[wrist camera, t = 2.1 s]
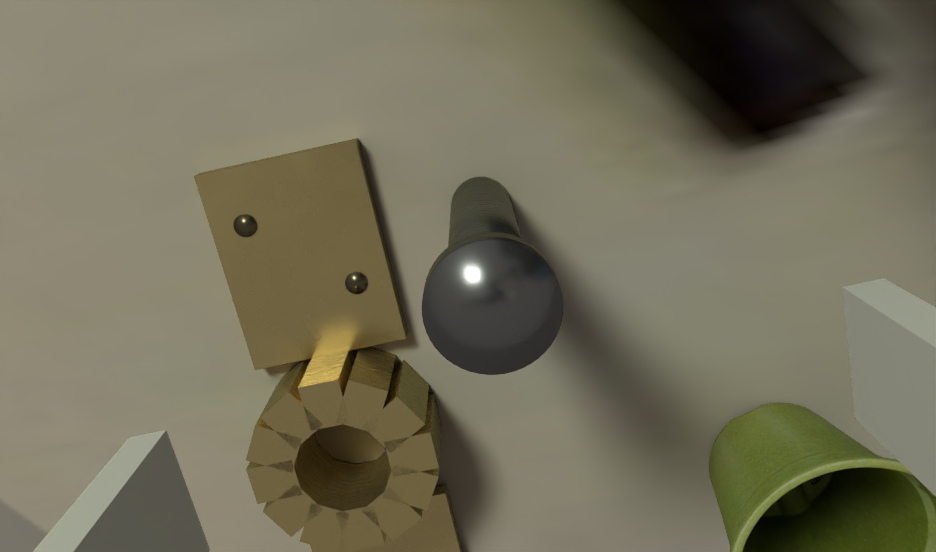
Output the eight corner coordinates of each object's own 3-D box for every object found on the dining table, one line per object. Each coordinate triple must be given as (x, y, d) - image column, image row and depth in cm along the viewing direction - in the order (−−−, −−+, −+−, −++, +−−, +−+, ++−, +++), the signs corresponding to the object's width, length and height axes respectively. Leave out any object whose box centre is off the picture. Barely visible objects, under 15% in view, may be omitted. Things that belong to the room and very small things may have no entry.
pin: (428, 173, 35) (407, 257, 21) (515, 154, 34) (549, 226, 21) (447, 256, 36) (439, 386, 22) (532, 238, 35) (574, 359, 22)
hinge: (188, 175, 35) (154, 192, 31) (369, 135, 34) (357, 147, 30) (343, 662, 42) (330, 725, 38) (493, 634, 41) (496, 695, 37)
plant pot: (648, 522, 40) (697, 651, 31) (707, 348, 37) (777, 437, 29) (827, 559, 40) (922, 694, 32) (897, 390, 38) (1020, 489, 29)
